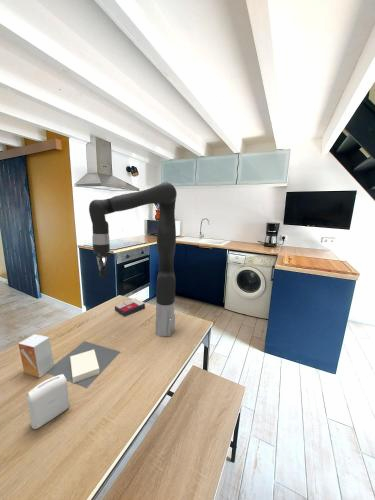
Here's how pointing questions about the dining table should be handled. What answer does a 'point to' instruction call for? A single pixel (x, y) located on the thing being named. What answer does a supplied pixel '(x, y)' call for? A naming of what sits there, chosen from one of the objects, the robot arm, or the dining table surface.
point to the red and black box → (129, 307)
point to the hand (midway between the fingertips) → (102, 276)
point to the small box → (36, 355)
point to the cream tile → (84, 365)
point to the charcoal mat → (102, 353)
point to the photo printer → (48, 400)
